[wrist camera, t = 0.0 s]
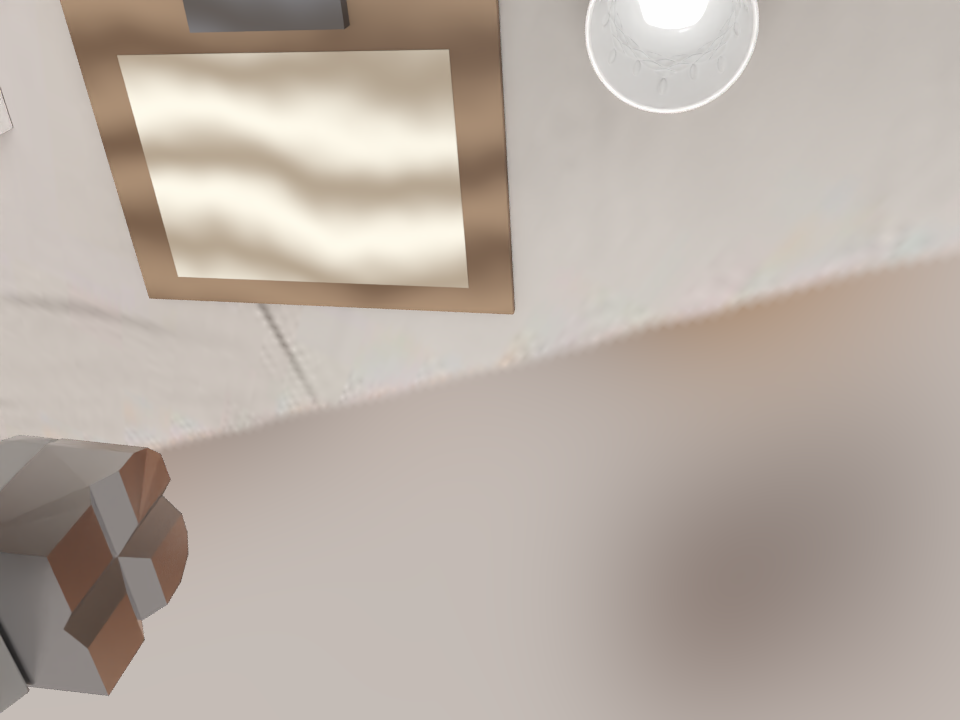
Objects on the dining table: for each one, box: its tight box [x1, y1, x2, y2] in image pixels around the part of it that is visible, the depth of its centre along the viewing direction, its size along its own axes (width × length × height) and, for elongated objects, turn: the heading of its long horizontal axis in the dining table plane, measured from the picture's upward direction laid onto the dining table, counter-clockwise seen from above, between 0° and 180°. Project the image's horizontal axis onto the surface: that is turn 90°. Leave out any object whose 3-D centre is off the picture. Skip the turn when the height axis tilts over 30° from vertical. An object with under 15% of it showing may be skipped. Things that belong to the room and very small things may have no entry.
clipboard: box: [60, 0, 515, 314], centre depth 60 cm, size 22×28×2 cm
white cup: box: [585, 0, 759, 114], centre depth 46 cm, size 8×8×10 cm
